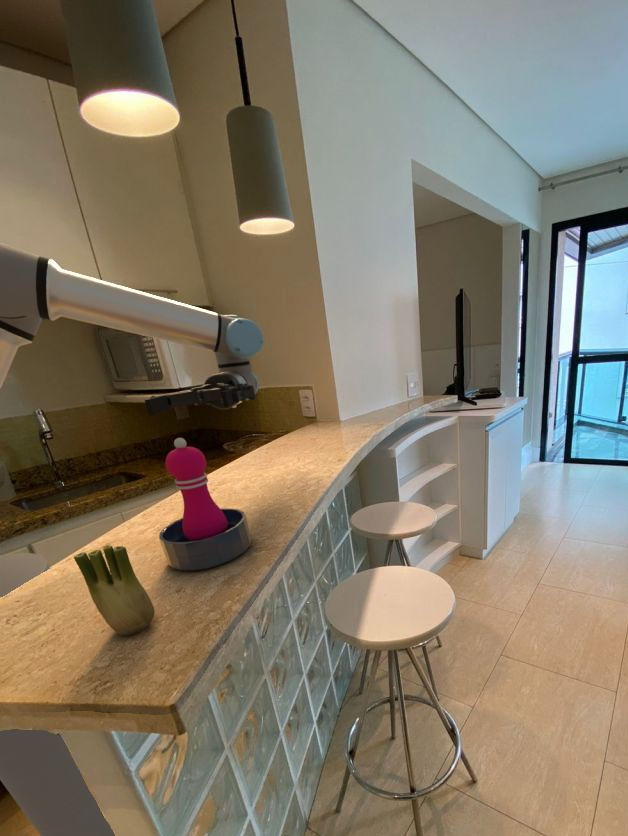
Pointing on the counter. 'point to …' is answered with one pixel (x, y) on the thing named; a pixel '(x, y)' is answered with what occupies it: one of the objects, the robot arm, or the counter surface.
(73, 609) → the counter surface
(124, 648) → the counter surface
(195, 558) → the bowl
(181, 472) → the pepper mill
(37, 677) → the counter surface
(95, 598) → the fennel bulb
